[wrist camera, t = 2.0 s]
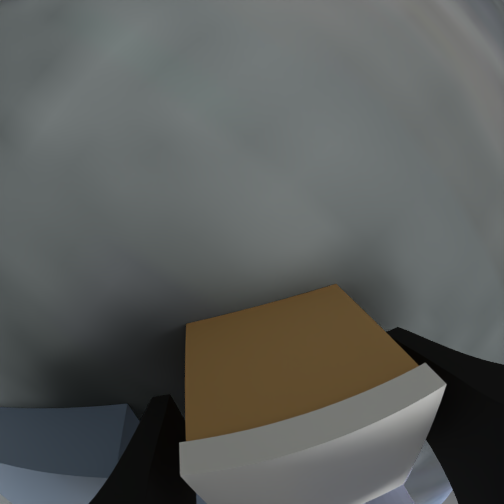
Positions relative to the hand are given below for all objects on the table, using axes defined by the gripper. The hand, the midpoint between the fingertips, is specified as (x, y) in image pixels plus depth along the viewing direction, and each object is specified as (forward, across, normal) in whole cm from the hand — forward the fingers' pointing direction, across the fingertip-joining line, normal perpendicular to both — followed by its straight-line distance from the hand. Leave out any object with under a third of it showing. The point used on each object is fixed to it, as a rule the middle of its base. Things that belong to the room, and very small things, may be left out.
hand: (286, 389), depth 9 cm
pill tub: (+2, 0, 0) cm, 2 cm away
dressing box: (+2, +12, +7) cm, 14 cm away
